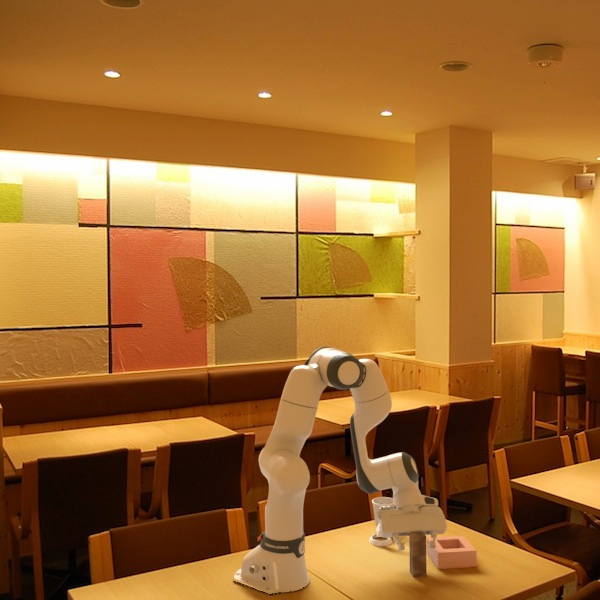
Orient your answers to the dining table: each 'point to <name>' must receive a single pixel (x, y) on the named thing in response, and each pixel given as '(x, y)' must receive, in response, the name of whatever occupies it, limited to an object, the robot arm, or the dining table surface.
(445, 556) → the terracotta well
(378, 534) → the white lever
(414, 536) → the walnut block
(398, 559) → the dining table surface
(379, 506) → the dixie cup
